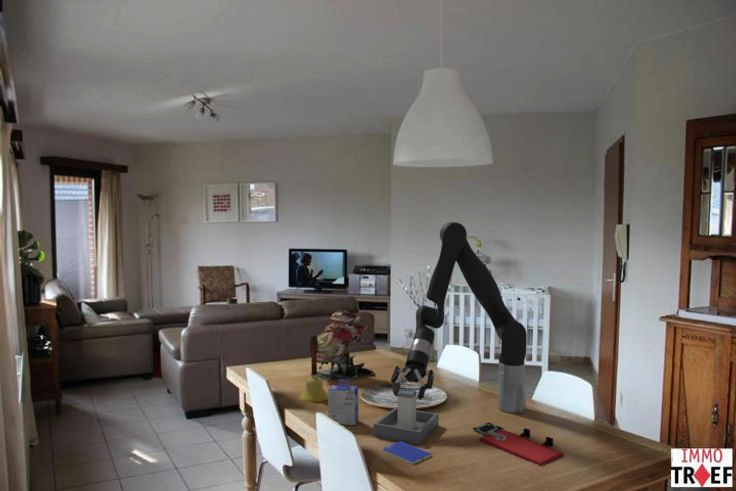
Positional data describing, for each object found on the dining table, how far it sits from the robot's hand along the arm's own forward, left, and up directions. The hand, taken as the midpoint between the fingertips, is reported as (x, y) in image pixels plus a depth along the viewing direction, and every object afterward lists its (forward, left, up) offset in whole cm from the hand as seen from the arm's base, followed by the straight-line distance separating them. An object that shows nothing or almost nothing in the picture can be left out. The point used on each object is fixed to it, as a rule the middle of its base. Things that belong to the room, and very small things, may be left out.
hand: (407, 396), depth 177 cm
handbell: (+47, -17, -12) cm, 52 cm away
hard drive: (-6, +16, -12) cm, 22 cm away
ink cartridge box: (+23, +2, -12) cm, 26 cm away
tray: (0, 0, -11) cm, 12 cm away
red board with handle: (-34, -6, -12) cm, 36 cm away
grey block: (0, 0, -10) cm, 10 cm away
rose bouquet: (+55, -50, -12) cm, 75 cm away
